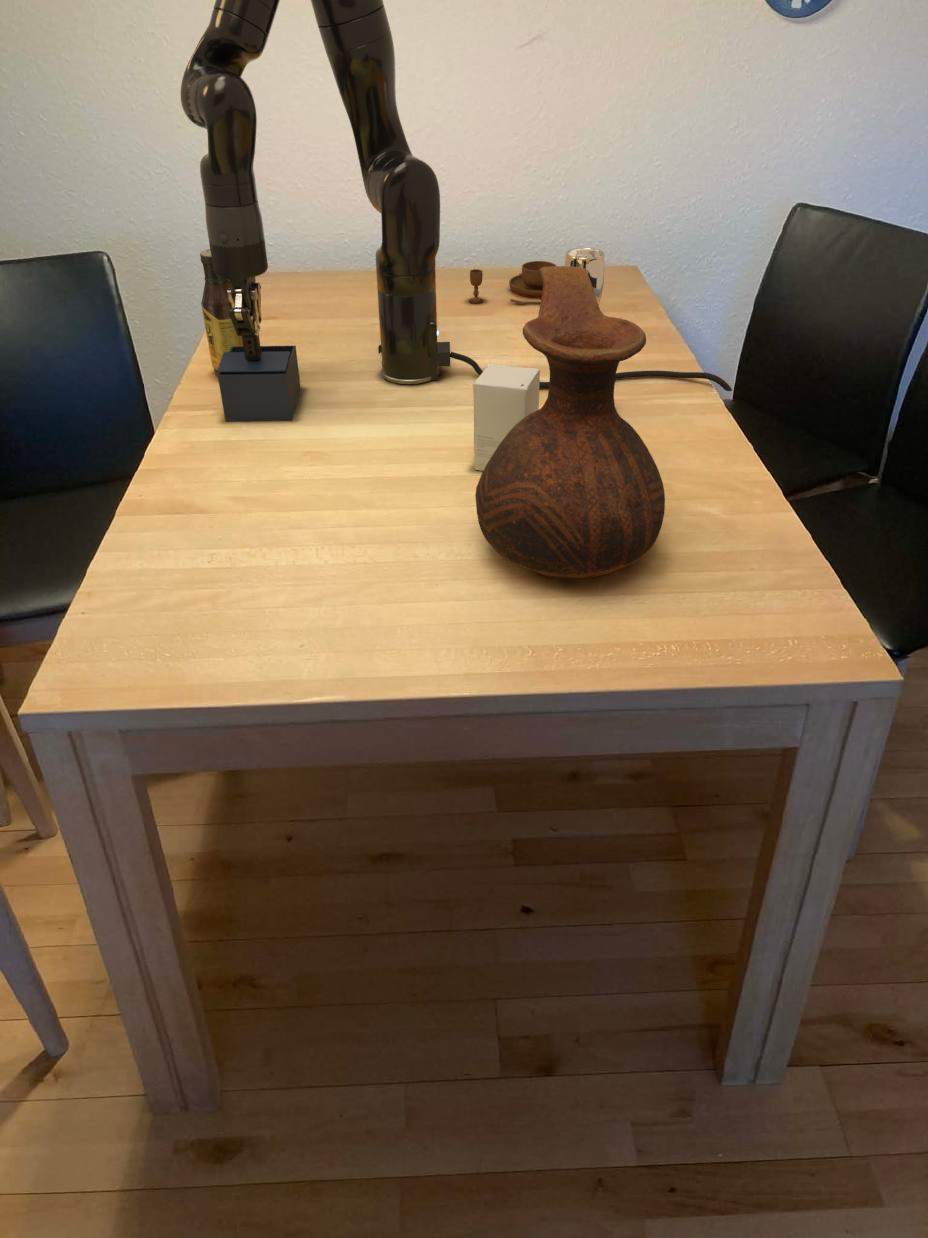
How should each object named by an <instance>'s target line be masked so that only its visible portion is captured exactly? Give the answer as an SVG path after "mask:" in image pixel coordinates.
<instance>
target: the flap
mask: <svg viewBox="0 0 928 1238" xmlns="http://www.w3.org/2000/svg"><path fill="white" fill-rule="evenodd" d="M289 354H290V351H281V352H261V357H260V359H259V360H258V361H248V360H246V359H245V354H244V352H224V353H223V356H222V358H221V361H220V364H219V367H218V370H217V372H270V371H286V367H287V363H288V358H289Z"/></svg>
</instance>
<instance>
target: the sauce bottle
mask: <svg viewBox="0 0 928 1238" xmlns="http://www.w3.org/2000/svg"><path fill="white" fill-rule="evenodd" d="M199 256H200V262H201V264H202V268H203V274H204V285H203V291H202V292H203V293H202V298H201V303H200V304H201V311H202V316H203V321H204V328H205V333H206V334H205V335H206V339H207V345H208V349H209V356H210V361H211V367H212V368H213V372H214V374H215V376H217V377H218V374H219V372H217V370H218V367H219V364H220V361H221V358H222V356H223V353H224V352H229V351H230V349H231V347H232V346H243V340H242V336H237V333H236V331H235V328H234V326H233V323H232V321H231V318H230V315H229V313H228V311H229V308H232V305H231V302H230V301H229V298H228V288H231V287H230V283H231V282H230V280H229V279H228V278H226V277H220V276H218V275H217V274H216V273H215V272H214V270H213V263H212V257H211V251H210V248H207V249H204V250H202V251H200V253H199Z"/></svg>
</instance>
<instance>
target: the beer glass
mask: <svg viewBox="0 0 928 1238" xmlns="http://www.w3.org/2000/svg"><path fill="white" fill-rule="evenodd" d="M564 259H565V260H564V266H569V267H582V268H585V269H586V271H587V273H588V275H589V278H590V281H591V284H592V287H593V290H594V293H595V297H596V300H597V303H598V306H599V307H600V303H601V302H600V301H601V298H602V293H603V288H604V281H605V252H604V250H601V249H598V248H593V247H575V248H571V249H568V250H566V251H565V258H564Z"/></svg>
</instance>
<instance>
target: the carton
mask: <svg viewBox="0 0 928 1238" xmlns="http://www.w3.org/2000/svg"><path fill="white" fill-rule="evenodd" d="M260 347H261V352H281V351H290V354H289V358H288V363H287V367H286V371H270V372H219V374H218V376H217V381H218V385H219V391H220V397H221V403H222V410H223V414H224V420H225V422H270V421H271V422H281V421H283V422H284V421H287V422H288V421H293V418H294V414H295V410H296V408H297V405H298V400H299V397H300V394H301V390H302V388H301V380H300V372H299V361H298V354H297V346H296V345H260ZM229 352H244V347H243V346H232V347H231V349H230V351H229Z"/></svg>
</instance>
